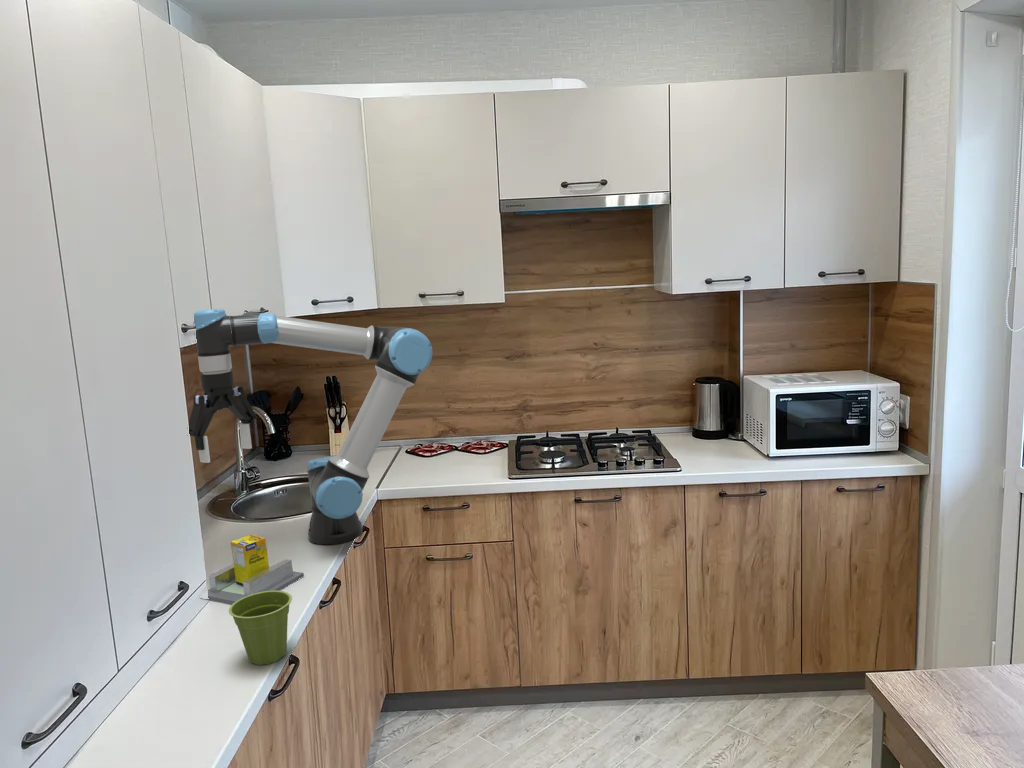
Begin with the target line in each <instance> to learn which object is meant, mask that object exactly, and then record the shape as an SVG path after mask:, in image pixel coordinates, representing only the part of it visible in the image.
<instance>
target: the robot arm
mask: <svg viewBox="0 0 1024 768" xmlns="http://www.w3.org/2000/svg"><path fill="white" fill-rule="evenodd" d="M193 314H194V321H193V325H194V324H195V326H196V339H197V343H196V342H195V345H196V352H197V361H198V367H199V372H201V373H202V374H200V384H201V389H203V392H204V393H203V395H197V394H196V395H193V399H192V400H193V406H192V410H191V415H190V418H189V422H188V425H189V434H190V437H194V440H195V448H196V450H197V451H198V456H199V462H200V463H203V464H204V463H205V464H209V463H211V456H210V447H209V438H208V435H205V434H206V432H207V430H208V427H209V425H210V423H211V421H212V419H213V416H214V415H215V414H216V413H217V411H220V410H223V409H228V410H230V412H231V413H232V414H233V415H234V416H235V417H236V418H237V419H238V420H239V421H240V422H241V423H239V424H238V425H239V433H240V441H241V448H242V449H244V450H251V449H253V446H252V436H251V435H252V434H253V433H252V424H253V423H254V422H255V420H256V419H257V414H256V412H255V411H254V410H253V407H252V405H251V403H250V401H249V400H248V398H247V397H246V394H245V390H244V387H243V386H234V384H235V380H234V373H233V371H232V369H233V365H232V364H233V363H232V357H231V355H232V354H231V349H230V347H236V346H250V345H261V344H262V345H263V344H264V345H266V344H267V345H268V344H276V345H277V344H279V345H284V346H285V345H286V346H291V347H300V348H306V349H307V348H309V349H314V350H315V349H316V350H322V351H328V352H329V351H331V352H337V353H345V354H353V355H359V356H363V357H365V359H366V360H371V361H376V363H375V366H374V367H375V371H376V376H375V378H374V380H373V382H372V384H371V387H370V388H369V390H368V392H367V394H366V397H365V398H364V400H363V403H362V405H361V407H360V409H359V411H358V413H357V414H356V417H355V419H354V421H353V423H352V425H351V427H350V429H349V431H348V432H347V436H346V437H345V440H344V441H343V443H342V445H341V447H340V449H339V451H338V453H337V455H330V456H324V457H317V458H314V459H310V460H309V461H308V462H307V466H306V467H307V470H306V473H307V475H308V478H307V479H308V486H309V494H310V496H309V497H310V503H311V516H310V520H309V521H310V522H309V527H308V530H307V537H308V541H309V540H310V541H311V542H310V541H309V542H310V543H312V542H313V543H312V544H314V543H317V544H316V545H320V544H332V545H339V544H343V543H346V542H350V541H353V540H355V539H357V538H359V537H361V535H362V534H363V524H362V522H361V520H360V518H359V516H358V514H357V511H358V510H359V508H360V507H361V504H362V502H363V494H364V493H363V491H364V489H365V486H366V485H367V482H368V480H369V479H370V474H369V469H368V467H369V465H370V463H371V461H372V459H373V458H374V455H375V454H376V451H377V449H378V447H379V445H380V443H381V440H382V439H383V437H384V435H385V432H386V431H387V428H388V427H389V424H390V422H391V420H392V419H393V416H394V414H395V412H396V410H397V409H398V406H399V404H400V402H401V400H402V398H403V396H404V394H405V392H406V390H407V388H411V387H412V386H415V385H416V382H417V380H418V378H419V376H420V374H421V373H423V372H424V371H425V370H426V369H427V368H428V367H429V365H430V364H431V361H432V359H433V346H432V344H431V341H430V340H429V338H428V337H427V336H426V335H425V334H424V333H423V332H420V330H417V329H414V328H410V327H406V326H405V327H404V326H377V325H370V326H368V327H367V328H365V327H360V326H359V327H358V326H352V325H345V324H338V323H330V322H325V321H318V320H311V319H305V318H304V319H302V318H295V317H290V316H289V317H288V316H281V315H277V314H275V313H273V312H261V313H260V312H257V311H252V310H251V311H246V312H244V313H242V314H241V315H227V313H226V310H225V309H224V308H209V309H208V308H207V309H199V310H196V311H195V312H194V313H193ZM234 398H235V399H234Z"/></svg>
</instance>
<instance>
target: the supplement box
mask: <svg viewBox="0 0 1024 768" xmlns="http://www.w3.org/2000/svg"><path fill="white" fill-rule="evenodd" d="M267 548H268V547H267V540H266V537H263V536H258V535H257V534H252V533H251V534H248V535H246V536H243V537H240V538H237V539H234V540H232V541H230V549H231V554H232V555H231V556H232V561H233V563H234V570H235V578H236V584H238V585H241V586H243V582H244V581H246V580H248V579H249V578H251V577H253V576H255V575H257V574H259V573H261V572H262V571H264V570H266V569H268V568H269V567H270V565H269V556H268V549H267Z"/></svg>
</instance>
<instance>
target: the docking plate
mask: <svg viewBox="0 0 1024 768" xmlns="http://www.w3.org/2000/svg"><path fill="white" fill-rule="evenodd" d="M303 576H304V577H305V574H304V572H301V571H293V562H292V559H288V558H285V559H283V560H281V561H279V562H278V563H276V564H273V565H272V566H269V568H268V569H266V570H264V571H262V572H261V573H259V574H257V575H255V576H253V577H251V578H249V579H248V580H246V581H244V582H243V586H241V585H238V584H236V578H235V570H234V562H233V563H231V564H229V565H227V566H226V567H224V568H222V569H220V570H218V571H216V572H214V573H212V574H210V575H208V581H209V589H207V590H208V598H209V600H208V601H211V602H216V603H222V604H227V605H230V606H231V605H232V604H233V603H234V602H236V601H238V600H239V599H241V598H243V597H246V596H248V595H251V594H255V593H259V592H263V591H273V590H276V591H283V590H284V589H285V587H286V588H287V587H289V586H291V585H292V584H294V583H296V582H297V581H299V580H300V579H299V578H301V577H303ZM304 577H303V578H304ZM298 579H299V580H298ZM301 579H302V578H301ZM296 580H297V581H296ZM295 581H296V582H295ZM293 582H294V583H293ZM290 584H291V585H290ZM288 585H289V586H288Z"/></svg>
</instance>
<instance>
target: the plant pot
mask: <svg viewBox="0 0 1024 768" xmlns="http://www.w3.org/2000/svg"><path fill="white" fill-rule="evenodd" d="M292 600H293V596H292V595H291V593H289V592H287V591H283V590H280V591H276V590H273V591H263V592H259V593H255V594H251V595H248V596H246V597H243V598H241V599H239V600H238V601H236V602H234V603H233V604H232V605H231V604H230V606H229V608H228V613H229V615H230V616H231V617H232V618H233V620H234V623H235V625H236V627H237V629H238V631H239V635H240V639H241V641H242V644H243V646H244V650H245V653H246V656H247V659H248V661H249V663H252V664H255V665H258V666H262V665H268V664H273V663H276V662H277V661H278V660H279V659H281V658H283V657H285V655H286V654H287V648H288V647H287V646H288V645H287V644H288V642H287V641H288V621H289V620H288V619H289V618H288V616H289V611H290V604H291V603H292Z"/></svg>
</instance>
